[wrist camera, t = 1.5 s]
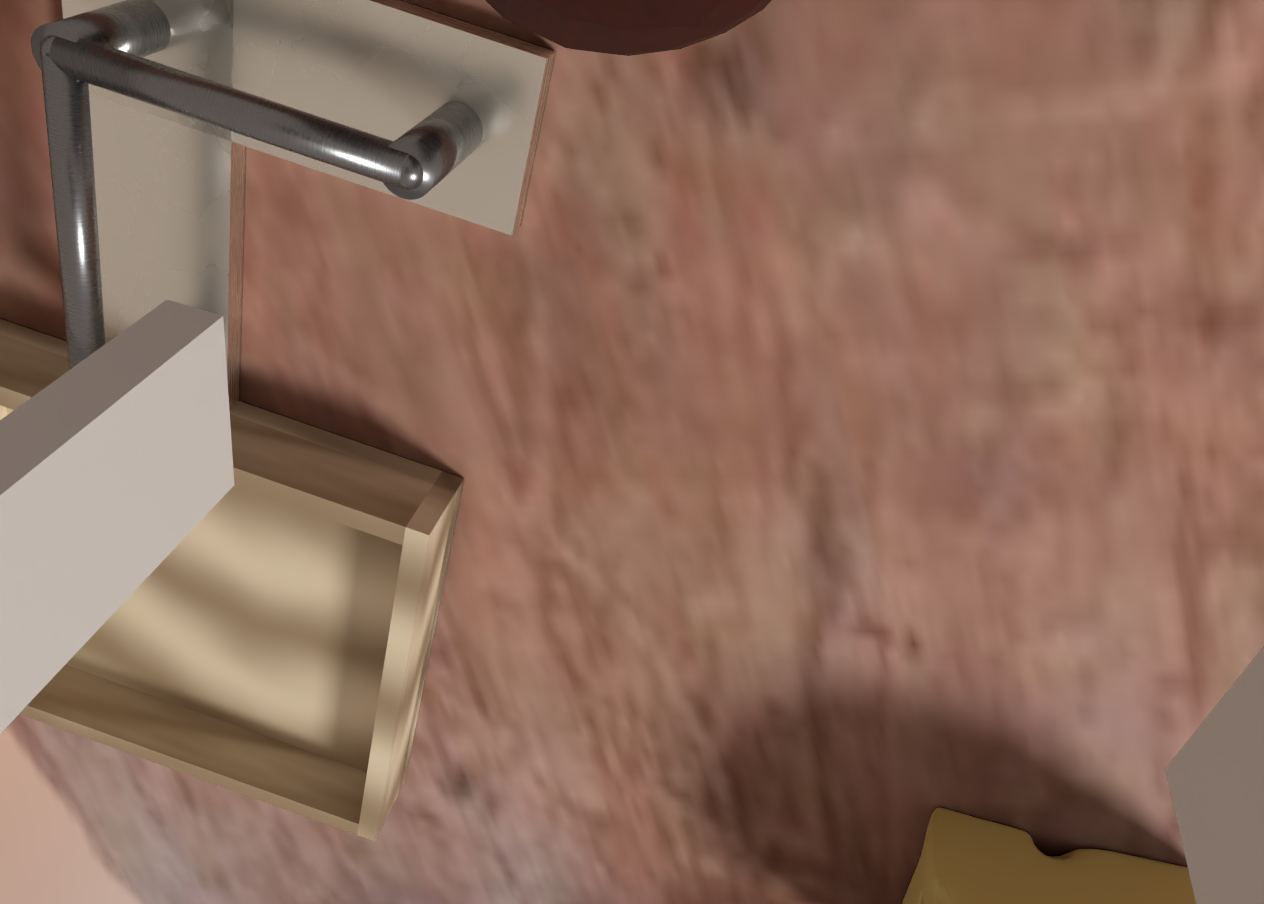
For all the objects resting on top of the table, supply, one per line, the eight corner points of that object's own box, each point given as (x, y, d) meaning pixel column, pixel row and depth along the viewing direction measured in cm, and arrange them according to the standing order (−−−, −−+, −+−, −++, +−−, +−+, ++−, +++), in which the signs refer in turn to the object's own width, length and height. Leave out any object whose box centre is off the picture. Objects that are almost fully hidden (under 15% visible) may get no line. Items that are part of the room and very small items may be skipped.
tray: (-10, 315, 36) (-81, 358, 33) (464, 478, 35) (429, 535, 33) (37, 649, 46) (-14, 702, 43) (405, 780, 45) (375, 841, 43)
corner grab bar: (74, -107, 27) (-62, -87, 23) (555, 51, 27) (497, 99, 23) (106, 385, 36) (13, 457, 33) (464, 508, 36) (411, 596, 32)
